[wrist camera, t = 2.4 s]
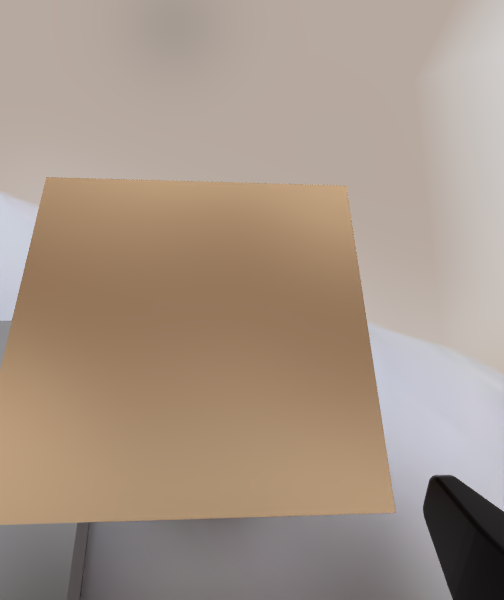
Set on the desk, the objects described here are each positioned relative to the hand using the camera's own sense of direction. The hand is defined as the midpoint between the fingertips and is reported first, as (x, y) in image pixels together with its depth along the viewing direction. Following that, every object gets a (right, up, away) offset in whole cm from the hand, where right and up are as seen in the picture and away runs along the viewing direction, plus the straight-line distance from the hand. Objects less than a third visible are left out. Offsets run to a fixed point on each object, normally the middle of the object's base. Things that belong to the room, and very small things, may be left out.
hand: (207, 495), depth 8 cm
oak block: (-1, -2, +10) cm, 10 cm away
